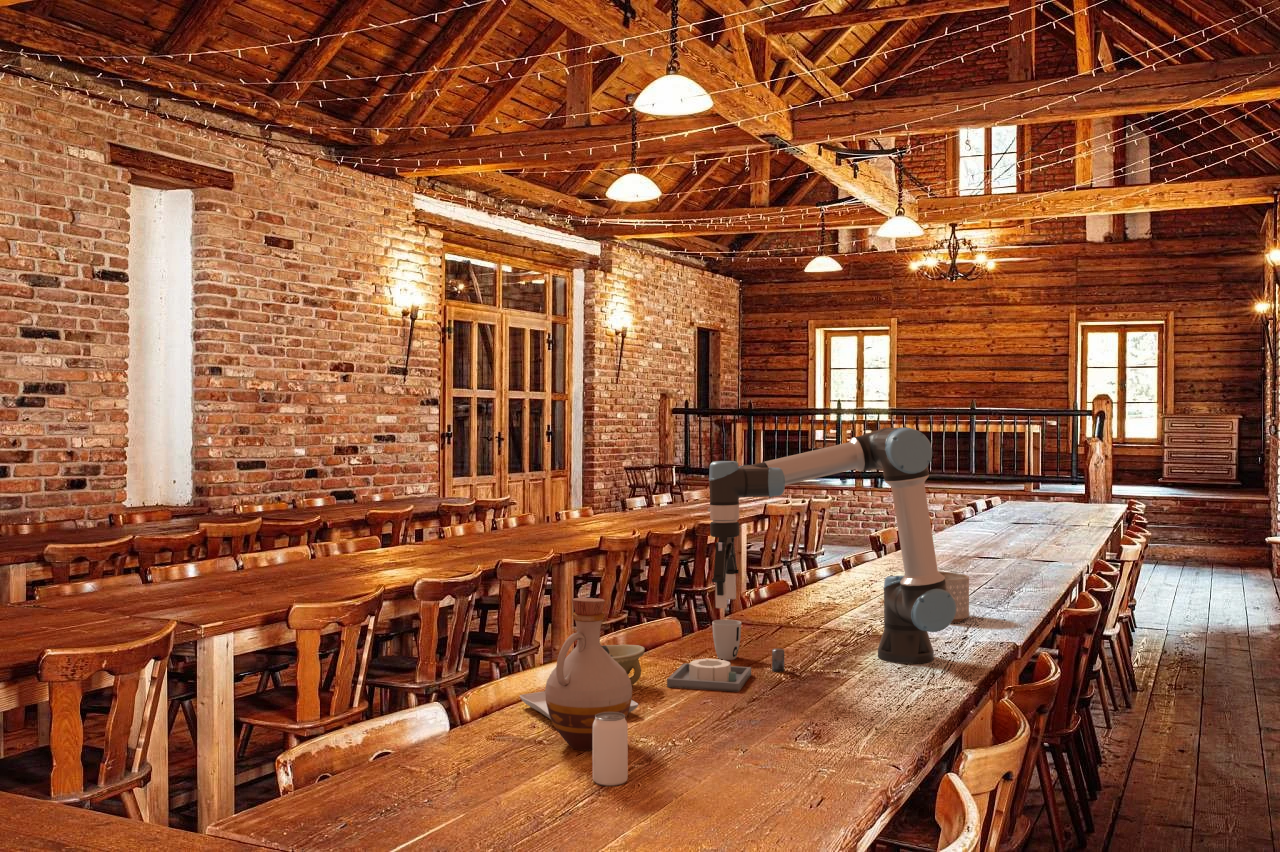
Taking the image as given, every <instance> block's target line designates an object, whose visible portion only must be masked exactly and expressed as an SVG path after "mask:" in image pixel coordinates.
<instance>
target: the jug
mask: <svg viewBox="0 0 1280 852" xmlns="http://www.w3.org/2000/svg"><path fill="white" fill-rule="evenodd" d="M571 601H572V605H573V609H574V612H572V618H573V620H574V621H575V626H576V632H573V633H572V634H570V635H569V636H568V637H567V638H566V639H565V641H564V643H563V644H562V646H561V649H560V650H559V653H558V656H557V659H556V665H555V668H554V669H553V670H552V671H551V673H550V674H549V676H548V677H547V680H546V684H545V689H544V691H545V697H546V704H547V708H548V712H549V715H550V718H551V719H550V720H551V723H552V725H553V727H554V729H556V730H557V733H558V734H559V735H560V736H561V737H562V739H564V741H565V742H566V744H567V745H568V746H569V747H570V748H572V749H574V750H578V751H593V722H594V720H595V715H596V714H598V713H602V712H619V713H622V714H624V715H625V720H626V721H627V719H628V715H629V713H630V712H629V709H630V704H631V700H633V699H632V698H633V696H632V695H633V687H632V686H633V684H632V685H631V680H630V676H629V674H628V675H627V673H626V671H625V670H624V669H623V668H622V667H621V666H620V665H619V664H618V663H617V662H616V661H615V660H614V659H613V658H612V657H611V656H610V655H609V654H608V653H607V652H606V651H605V650H604V649H603V648H602V647H601V646H602V644H601V641H600V640H601V629H602V628H601V627H602V622H603V620H604V618H605V612H603V610H604V605H605V602H606V600H605V599H603V598H596V597H594V598H593V597H575V598H572V600H571ZM576 641H577V642H576ZM574 642H576V646H575V647H574V648H573V650H571V651H570V652H569V650H570V648H571V646H572V645H573V643H574ZM568 652H569V654H568ZM567 654H568V655H567Z"/></svg>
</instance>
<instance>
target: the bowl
mask: <svg viewBox="0 0 1280 852" xmlns="http://www.w3.org/2000/svg"><path fill="white" fill-rule="evenodd" d="M601 647H602V648H603V649H604V650H605V651H606V652H607V653H608V654H609V655H610V656H611V657H612V658H613V659H614V660H615V661H616V662H617V663H618V664H619V665H620V666H621V667H622V668H623V669H624V670H625V671H626V673H627V675H628V676H629V675H630V672H632V670H633V671H634V672H633V674H632V676H631V677H630V676H629V678H630V680H631V685H632V686H633V685H634V684H636V683H637V682H638V681H639V680H640V678H641V675H642V667H641V663H640V660H639V659H640V658H641V657H642V656H643V655H644V653H645V650H646V648H645V647H644V646H641V645H637V644H608V645H605V644H604V645H601Z"/></svg>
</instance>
